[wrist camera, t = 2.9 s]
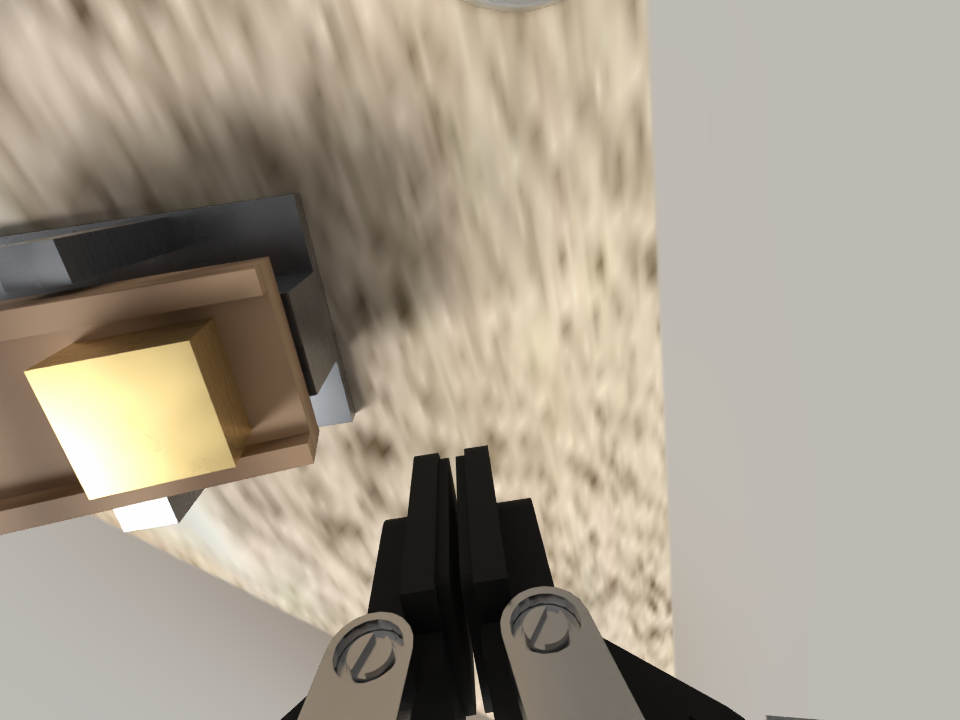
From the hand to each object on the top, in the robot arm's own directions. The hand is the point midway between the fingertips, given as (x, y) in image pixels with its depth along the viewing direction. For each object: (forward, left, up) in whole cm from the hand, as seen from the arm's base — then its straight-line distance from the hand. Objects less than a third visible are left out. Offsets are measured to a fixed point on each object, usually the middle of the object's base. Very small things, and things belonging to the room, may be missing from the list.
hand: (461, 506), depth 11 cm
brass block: (+11, 0, -10) cm, 15 cm away
